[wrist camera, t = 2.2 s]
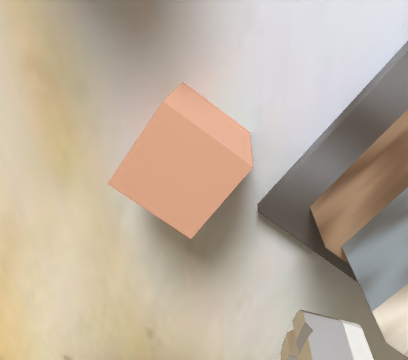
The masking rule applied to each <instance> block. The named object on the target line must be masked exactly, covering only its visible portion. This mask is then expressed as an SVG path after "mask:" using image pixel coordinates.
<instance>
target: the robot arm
mask: <svg viewBox="0 0 408 360" xmlns="http://www.w3.org/2000/svg"><path fill="white" fill-rule="evenodd" d="M293 325H294V330H292V331H290V332H288V333H287V335H286V337H285V339H284V342H283V346H282V351H281V360H374V359H373V356H372V354H371V351H370V348H369V346H368V343H367V340H366V338H365V335H364V332H363V330H362V328H361V326H360V325H359V324H356V323H352V322H348V321H344V320H340V319H338V320H337V319H334V318H330V317H326V316H323V315H319V314H315V313H311V312H308V311H304V310H299V311H298V312H297V313H296V315H295V317H294V319H293Z"/></svg>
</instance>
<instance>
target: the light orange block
mask: <svg viewBox="0 0 408 360" xmlns="http://www.w3.org/2000/svg"><path fill="white" fill-rule="evenodd" d="M252 168H253V160H252V150H251V140H250V132H249V131H248V130H246V129H245V128H244V127H242V126H241V125H240V124H238V123H237V122H236V121H234V120H233V119H232V118H230V117H229V116H228V115H226V114H225V113H224V112H222V111H221V110H220V109H219V108H217V107H216V106H215V105H213V104H212V103H211V102H209V101H208V100H207V99H205V98H204V97H203V96H201V95H200V94H199V93H197V92H196V91H195V90H193V89H192V88H191V87H189V86H188V85H187V84H185V83H184V82H182V83H181V84H180V85H179V86H178V87H177V88H176V89H175V90H174V91H173V92H172V93H171V94H170V95H169V96H168V97H167V98H166V99H165V100H164V101H163V102H162V104H161V105H160V106H159V108H158V109H157V111H156V112H155V114H154V115H153V117H152V118H151V120H150V121H149V123H148V124H147V126H146V127H145V129H144V130H143V132H142V133H141V135H140V136H139V138H138V139H137V141H136V142H135V144H134V145H133V147H132V148H131V150H130V151H129V152H128V154H127V155H126V157H125V158H124V160H123V161H122V163H121V164H120V166H119V167H118V169H117V170H116V172H115V173H114V175H113V176H112V178H111V179H110V181H109V182H108V184H109V185H110V186H112V187H113V188H115V189H116V190H118V191H119V192H121V193H122V194H124V195H125V196H127V197H128V198H130V199H131V200H133V201H134V202H136V203H137V204H139V205H140V206H142V207H143V208H145V209H146V210H148V211H149V212H151V213H152V214H154V215H155V216H157V217H158V218H160V219H161V220H163V221H164V222H166V223H167V224H169V225H170V226H172V227H173V228H175V229H176V230H178V231H179V232H181V233H182V234H184V235H185V236H187V237H188V238H190V239H192V237H193V236H194V235H195V234H196V233H197V232H198V230H199V229H200V228H201V227H202V226H203V225H204V223H205V222H206V221H207V220H208V219H209V218H210V217H211V215H212V214H213V213H214V212H215V211H216V210H217V208H218V207H219V206H220V205H221V204H222V203H223V201H224V200H225V199H226V198H227V197H228V196H229V195H230V193H231V192H232V191H233V190H234V189H235V188H236V186H237V185H238V184H239V183H240V182H241V181H242V179H243V178H244V177H245V176H246V175H247V174H248V173H249V171H250V170H251V169H252Z"/></svg>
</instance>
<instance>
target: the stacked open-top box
mask: <svg viewBox="0 0 408 360" xmlns="http://www.w3.org/2000/svg"><path fill="white" fill-rule="evenodd" d="M258 211H259V212H260V213H261V214H263V215H264V216H266V217H267V218H268V219H270V220H271V221H273V222H274V223H275V224H277V225H278V226H280V227H281V228H283V229H284V230H285V231H287V232H288V233H290V234H291V235H292V236H294V237H295V238H297V239H298V240H299V241H301V242H302V243H304V244H305V245H306V246H308V247H309V248H311V249H312V250H313V251H315V252H316V253H318V254H319V255H320V256H322V257H323V258H325V259H326V260H328V261H329V262H330V263H332V264H333V265H335V266H336V267H337V268H339V269H340V270H342V271H343V272H344V273H346V274H347V275H349V276H350V277H351V278H353V279H354V280H356V281H357V282H358V283H359V285H360V287H361V289H362V291H363V293H364V296H365V298H366V300H367V302H368V304H369V306H370V309H371V311H372V313H373V315H374V317H375V319H376V321H377V324H378V326H379V328H380V330H381V332H382V334H383V337H384V339H385V341H386V343H387V344H389V345H390V346H392V347H393V348H394V349H396V350H397V351H399V352H400V353H402V354H403V355H405V356H406V357H408V42H407V43H406V44H405V45H404V46H403V47H402V48H401V49H400V50H399V51H398V53H397V54H396V55H395V56H394V57H393V58H392V59H391V60H390V61H389V62H388V63H387V64H386V66H385V67H384V68H383V69H382V70H381V71H380V72H379V73H378V74H377V75H376V76H375V78H374V79H373V80H372V81H371V82H370V83H369V84H368V85H367V86H366V87H365V88H364V89H363V91H362V92H361V93H360V94H359V95H358V96H357V97H356V98H355V99H354V100H353V101H352V102H351V104H350V105H349V106H348V107H347V108H346V109H345V110H344V111H343V112H342V113H341V114H340V116H339V117H338V118H337V119H336V120H335V121H334V122H333V123H332V124H331V125H330V126H329V127H328V129H327V130H326V131H325V132H324V133H323V134H322V135H321V136H320V137H319V138H318V139H317V140H316V142H315V143H314V144H313V145H312V146H311V147H310V148H309V149H308V150H307V151H306V152H305V154H304V155H303V156H302V157H301V158H300V159H299V160H298V161H297V162H296V163H295V164H294V165H293V167H292V168H291V169H290V170H289V171H288V172H287V173H286V174H285V175H284V176H283V177H282V178H281V180H280V181H279V182H278V183H277V184H276V185H275V186H274V187H273V188H272V189H271V190H270V192H269V193H268V194H267V195H266V196H265V197H264V198H263V199H262V200H261V201H260V202H259V203H258Z"/></svg>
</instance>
